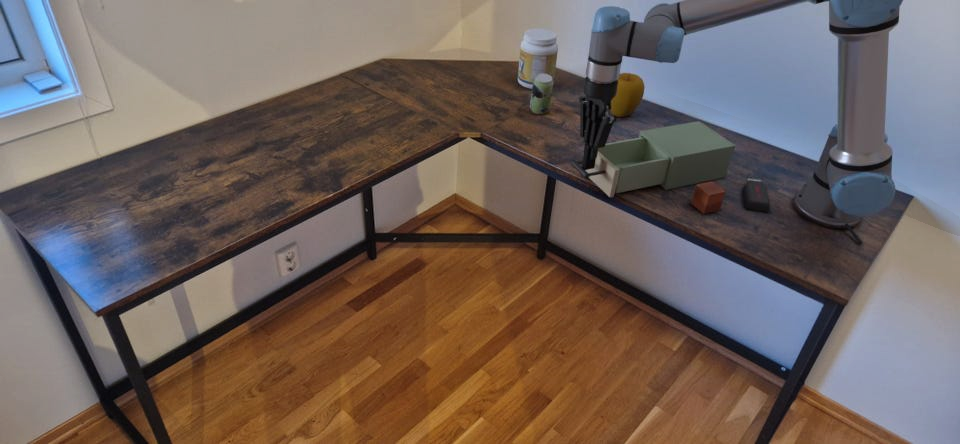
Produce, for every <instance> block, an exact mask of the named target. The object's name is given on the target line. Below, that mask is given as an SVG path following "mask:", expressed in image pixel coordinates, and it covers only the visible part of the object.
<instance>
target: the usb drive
mask: <svg viewBox="0 0 960 444" xmlns="http://www.w3.org/2000/svg"><path fill="white" fill-rule="evenodd" d="M742 193H743V198H744V204H745V208H746V209H747V210H751V211H759V212H765V213H769V211H770V208H771V201H770V197H769V193H768V189H767V186H766V185H765V184H764V182H763V181H762V180H760V179H754V178H747V179H746V182H745V184H744V186H743V190H742Z"/></svg>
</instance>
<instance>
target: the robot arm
mask: <svg viewBox="0 0 960 444" xmlns="http://www.w3.org/2000/svg"><path fill="white" fill-rule="evenodd" d="M806 2H808V3H811V4H813V5H818V4H821V3H826V2H828V31H829V32H830V34H832V35H834V36H835V37H836V39H837V123H836V124H834V125H833V127H832V128H831V130H830V133H828V135H827V136H828V137H827V139H826V142H825V145H824V147H823V148H822V149H823V150H822V152H821V155H820V157H819V160H818V162H817V164H816V167H815V170H814V172H813V174H812V177H811V178H810V179H809V180H808V181H807V182H806V183H804V185H802V188H801V189H800V190H799V191H798V192H797V194H796V195H795V198H794V200H793V207H794V209H795V210H796V212H797V213H798V214H800V215H801V216H802V217H803V218H805V219H806V220H808V221H809V222H812V223H814V224H817V225H819V226H823V227H826V228H831V229H837V230H838V229H839V230H846V229H847V230H848V232H850V234H851V235H852V236H853V237H854V239H855V240H856V242H857V243H858V244H859V245H861V244H863V241H862V240H861V238H860V237H859V236H858V234H856V232H855V231H854V229H853V228H854V227H857V226H858V225H859V223H860V222H861V219H862V217H868V216H872V215H875V214H877V213H879V212H882V211H883V210H884V209H886V208H888V206H890V205H891V204H892V202H893V201H894V199H895V195H896V185H895V182H894V180H893V175H892V171H893V169H892V168H893V148H892V146H891V145H889V144H888V141H889V136H888V135H887V134H886V114H887V113H886V111H887V108H886V107H887V90H888V89H887V87H888V66H889V65H888V63H889V41H890V40H889V39H890V32H891V31H892V30H893V29H894V28H895V27H897V26H898V25H899V24H900V23H899V22H900V11H901V10H900V8H901V5H902V3H903V2H904V0H681V1H678V2H673V3H671V4H670V3H667V2H662V3H658V4H657V3H656V4H655V5H654V6H653V7H651V8H649V10H648V12H647V13H646V15H645V16H644V20H643V22H642V21H641V22H640V21H635V20H631V17H630V15H631V14H630V13H631V12H630V11H629V10H627V9H626V8H622V7H620V6H613V5H612V6H611V5H607V6H602V7H600V8H598V9H597V10H596V11H595V13H594V18H593V22H592V28H591V31H590V32H591V34H590V42H589V48H588V56H587V63H586V69H585V78H584V84H583V93H584V94H585V95H583V96H578V97H579V98H578V102H579V107H580V108H579V110H580V111H579V115H580V116H579V119H580V120H579V125H580V127H579V136H580V137H581V138H583V142H584V146H583V157H582V160H583V163H582V164H581V167H582V168H583V169H584V170H588V169H593V168H594V167H595V161H596V158H597V153H598V148H602V147H605V145H606V143H608V142H607V141H608V139H609V136H610V134H611V132H612V128H613V126H614V125H613V124H614V123H615V122H616V121H617V120H618V119H617V118H618V117H617V116H616V115H613V114H612V113H611V111H610V110H611V100H612V99H613V98H614V97H615V96H616V93H617V87H618V79H619V74H621V68H622V62H623V57H627V58H633V59H639V60H640V59H641V60H646V61H651V62H657V63H660V64H662V63H664V64H665V63H666V64H667V63H668V64H675V63H677V62H678V61H679V60H680V56H681V53H682V52H681V50H682V46H683V43H684V38H685V36H687V35H691V34H694V33H699V32H701V31H702V32H703V31H705V30H708V29H712V28H716V27H721V26H725V25H727V24H730V23H735V22H738V21H742V20H745V19H749V18H753V17H757V16H760V15H764V14H768V13H770V12H775V11H778V10H781V9H785V8H788V7H793V6H797V5H799V4H804V3H806Z"/></svg>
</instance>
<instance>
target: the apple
mask: <svg viewBox="0 0 960 444" xmlns="http://www.w3.org/2000/svg"><path fill="white" fill-rule="evenodd" d="M644 94H645V81H644V80H643V78H642V77H640V75H638V74H635V73H631V72H620V74H619V79H618V87H617V93H616V96H615V97H614V98H613V99H612V100H611V110H610V111H611V113H612V116H614V115H616V117H617V118H623V117H628V116H630V115H631V114H633V113H634V112H635V111H636V109H637V108H638V107H639V105H640V104H641V102H642V100H643V97H644Z"/></svg>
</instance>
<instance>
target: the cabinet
mask: <svg viewBox="0 0 960 444" xmlns="http://www.w3.org/2000/svg"><path fill="white" fill-rule="evenodd" d="M640 137H644V138H646V139H647V140H648V141H649V142H651V143H652V144H653V145H655V146H656V147H657V148H658V149H660V150H661V151H662V152H664V153H665V154H666V155H667V156H669V157H670V158H671V162H670V166H669V170H668V174H667V178H666V182H665V183H663V184H658V185H659V186H660V187H662V188H663V189H664V190H665V191H667V190H668V191H669V190H673V189H676V188H681V187H686V186H690V185H697V184H701V183H706V182H711V181H714V180H718V179H723V178H726V177H727V174H728V170H729V168H730V165H731V161H732V158H733V154H734V152H735V148H736V144H734V143H733V142H731V141H730V140H728V139H727V138H725V137H723V136H722V135H720V134H719V133H718V132H716V131H715V130H713V129H712V128H710V127H709V126H707V125H706V124H705V123H703V122H701V121H699V120H698V121H692V122H691V121H690V122H685V123H680V124H674V125H667V126H662V127H656V128H651V129H645V130H640V131H639V134H638V138H640Z"/></svg>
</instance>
